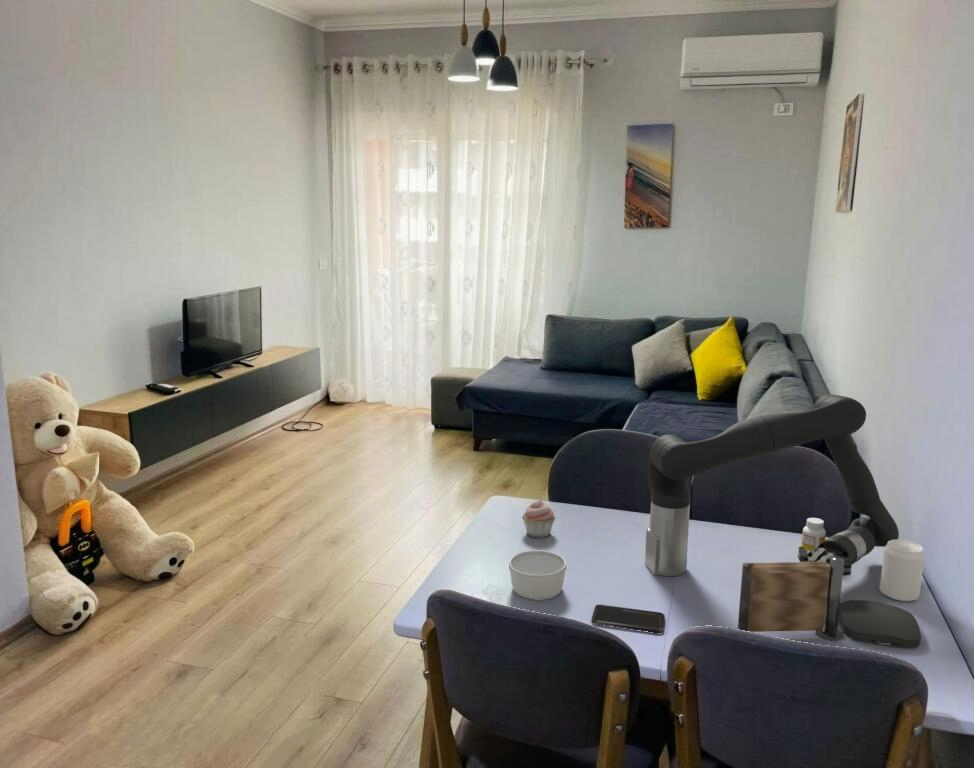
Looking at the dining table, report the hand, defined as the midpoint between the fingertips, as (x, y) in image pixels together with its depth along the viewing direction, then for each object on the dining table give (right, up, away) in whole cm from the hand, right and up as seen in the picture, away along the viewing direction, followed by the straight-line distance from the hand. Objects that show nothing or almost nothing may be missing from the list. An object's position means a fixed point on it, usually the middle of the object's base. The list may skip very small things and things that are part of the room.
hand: (804, 571), depth 172 cm
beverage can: (+24, -7, +7) cm, 26 cm away
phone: (-40, -10, -4) cm, 41 cm away
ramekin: (-58, -7, +9) cm, 59 cm away
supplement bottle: (+13, -3, +27) cm, 30 cm away
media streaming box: (+12, -11, -7) cm, 18 cm away
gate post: (-4, -9, -3) cm, 10 cm away
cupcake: (-56, 0, +41) cm, 69 cm away
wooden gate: (-10, -9, -11) cm, 17 cm away
